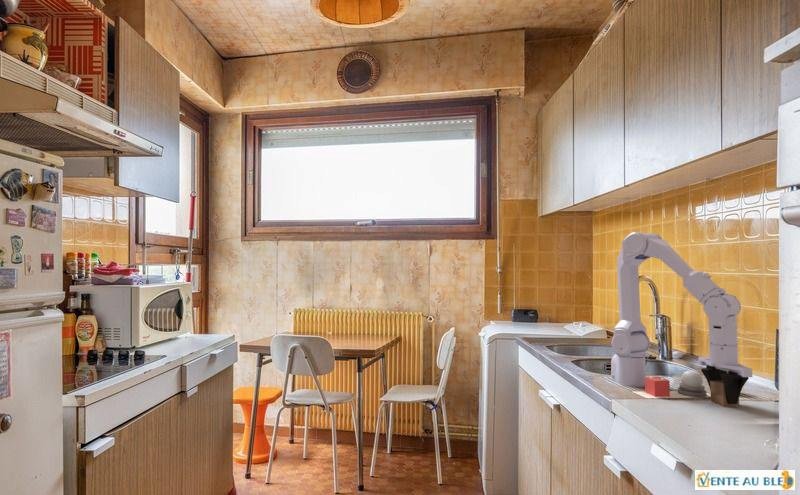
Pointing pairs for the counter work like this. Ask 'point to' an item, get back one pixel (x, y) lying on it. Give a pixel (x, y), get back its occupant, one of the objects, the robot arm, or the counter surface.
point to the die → (657, 386)
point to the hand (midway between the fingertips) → (724, 400)
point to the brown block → (719, 394)
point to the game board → (676, 394)
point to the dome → (691, 381)
